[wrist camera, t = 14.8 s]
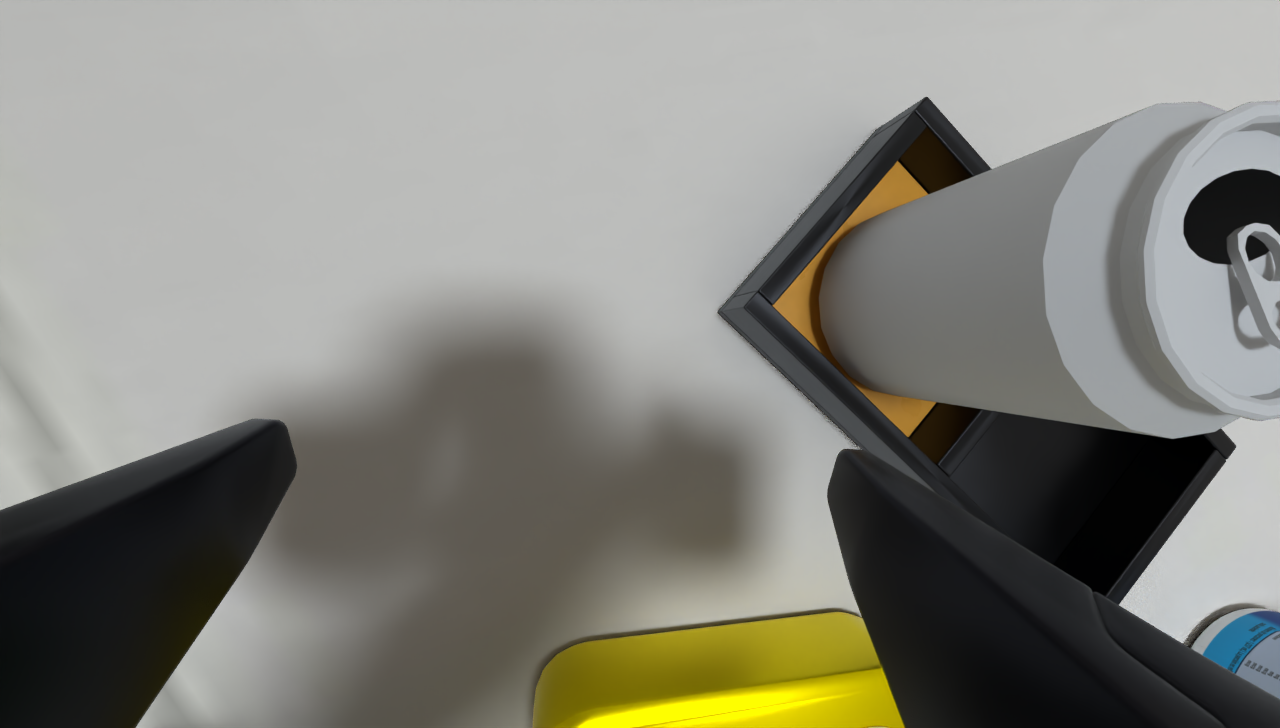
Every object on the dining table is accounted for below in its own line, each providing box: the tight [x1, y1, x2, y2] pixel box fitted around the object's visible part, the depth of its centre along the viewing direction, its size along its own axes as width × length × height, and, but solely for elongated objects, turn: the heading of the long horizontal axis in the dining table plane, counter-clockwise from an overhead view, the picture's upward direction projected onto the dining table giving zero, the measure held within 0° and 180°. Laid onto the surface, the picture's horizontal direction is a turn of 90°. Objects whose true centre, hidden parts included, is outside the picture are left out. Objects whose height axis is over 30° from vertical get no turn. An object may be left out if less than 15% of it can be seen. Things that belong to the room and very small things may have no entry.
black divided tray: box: [718, 97, 1236, 605], centre depth 22 cm, size 11×20×3 cm, turn 48°
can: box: [819, 101, 1280, 439], centre depth 16 cm, size 8×8×12 cm
